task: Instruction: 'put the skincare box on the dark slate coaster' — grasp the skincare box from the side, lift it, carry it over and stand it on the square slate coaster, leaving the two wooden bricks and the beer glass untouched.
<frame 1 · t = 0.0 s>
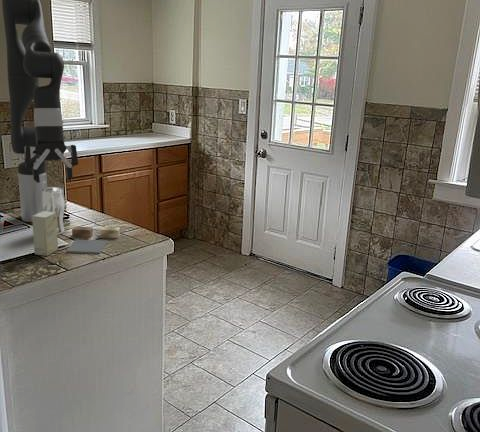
hand: (53, 181, 141), 22 cm above the table, tool pointing down, fingers open, 8 cm apart
beech brick: (110, 236, 164), on the table
walnut brick: (82, 236, 162), on the table
skincare box: (46, 252, 148), on the table
beer glass: (55, 232, 164), on the table
slate coaster: (87, 247, 153), on the table
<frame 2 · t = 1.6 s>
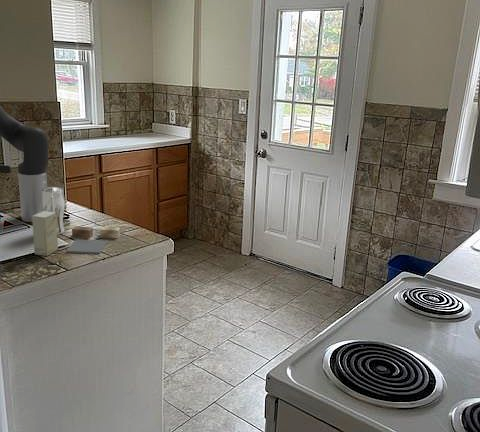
hand: (4, 172, 141), 24 cm above the table, tool horizontal, fingers open, 8 cm apart
nothing on the table moved.
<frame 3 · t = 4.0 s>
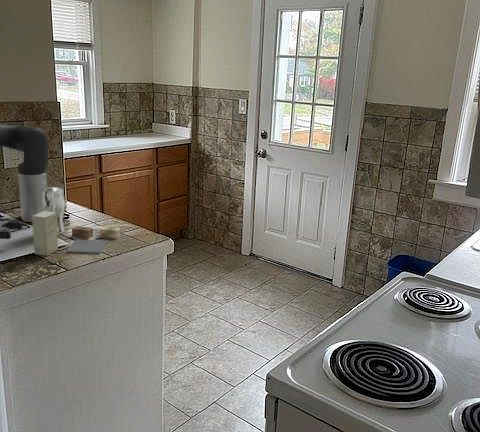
hand: (16, 230, 145), 7 cm above the table, tool horizontal, fingers open, 8 cm apart
nothing on the table moved.
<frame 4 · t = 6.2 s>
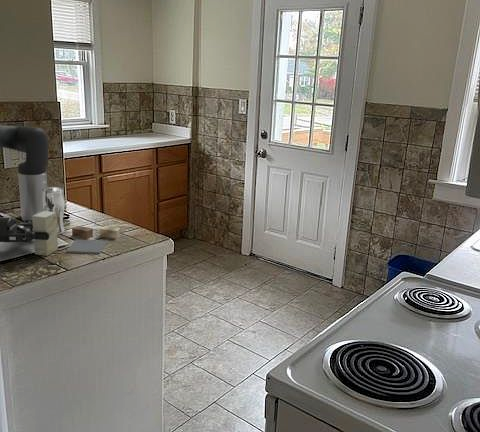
hand: (52, 231, 146), 7 cm above the table, tool horizontal, fingers closed on skincare box, 7 cm apart
skincare box: (46, 252, 148), on the table, touching gripper
everything else where it was.
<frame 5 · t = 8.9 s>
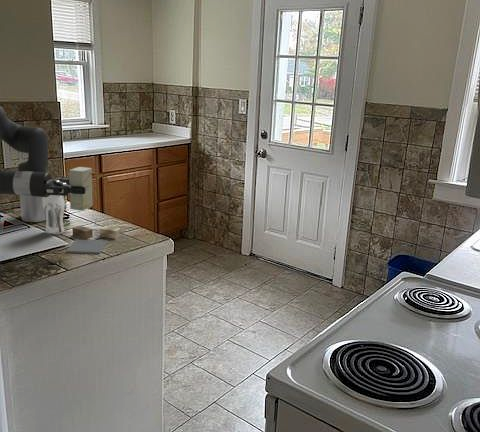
hand: (88, 187, 146), 20 cm above the table, tool horizontal, fingers closed on skincare box, 7 cm apart
skincare box: (81, 208, 148), point 13 cm above the table, touching gripper
everything else where it was.
when the fingers open (8 cm above the table, at t = 11.8 s): skincare box drops 1 cm, resting on slate coaster.
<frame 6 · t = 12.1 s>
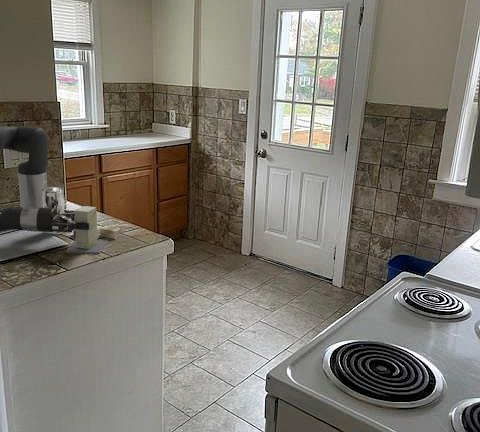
hand: (92, 221, 151), 9 cm above the table, tool horizontal, fingers open, 8 cm apart
skincare box: (86, 245, 153), resting on slate coaster
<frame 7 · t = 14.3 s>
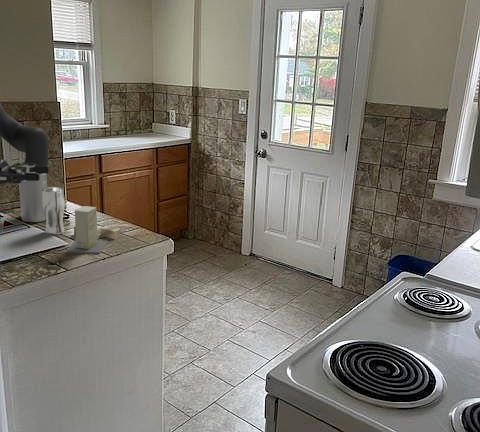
hand: (44, 173, 145), 23 cm above the table, tool horizontal, fingers open, 8 cm apart
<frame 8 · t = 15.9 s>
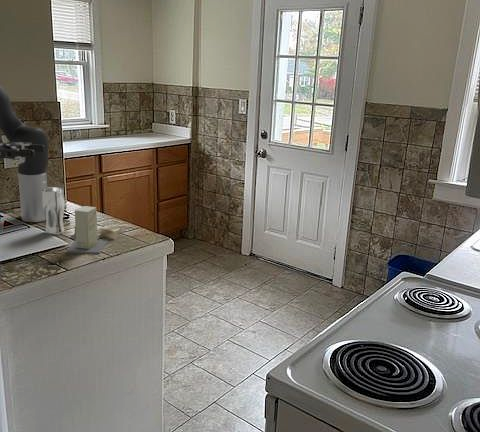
hand: (39, 151, 143), 30 cm above the table, tool horizontal, fingers open, 8 cm apart
at the end: skincare box inside the target area on the slate coaster (0.2 cm from its centre), point 0.4 cm above the slate coaster's base; skincare box tilted 0°; walnut brick moved 0.2 cm from its start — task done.
